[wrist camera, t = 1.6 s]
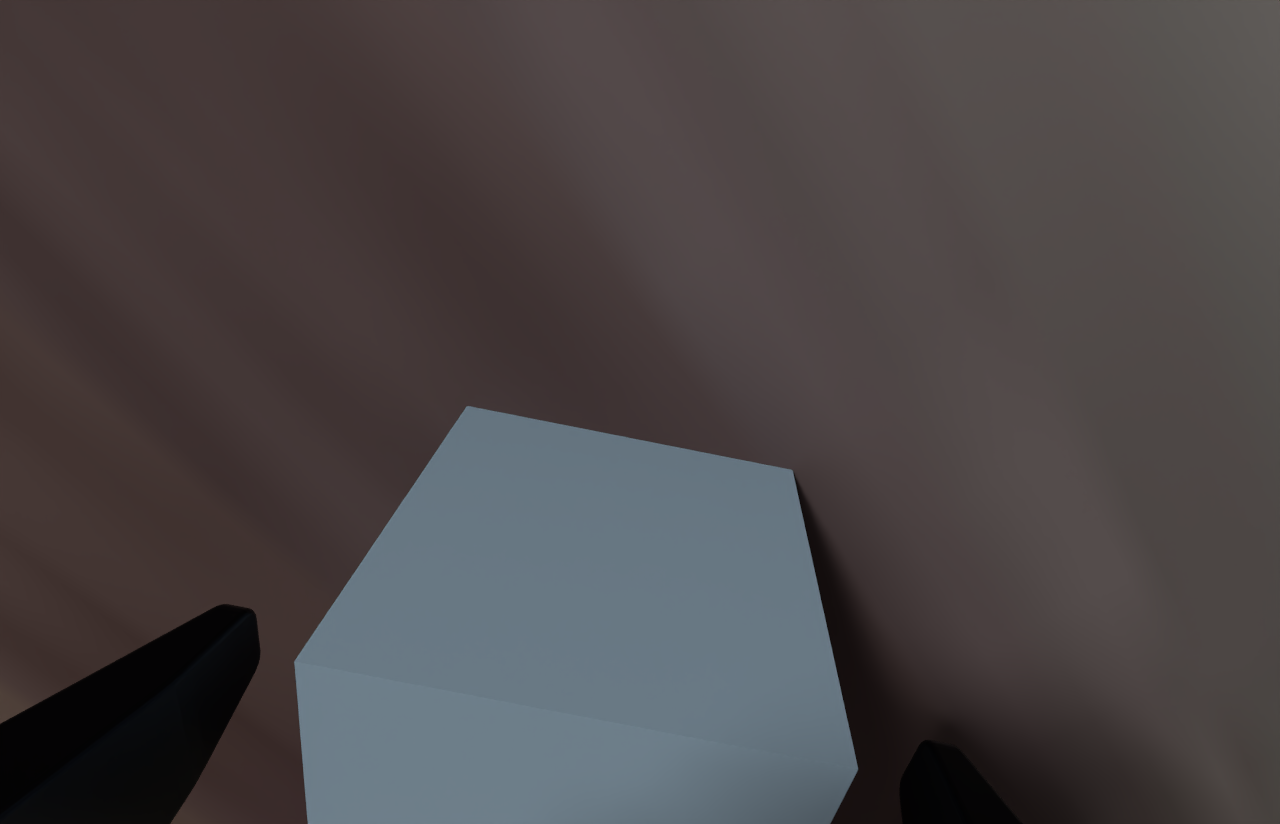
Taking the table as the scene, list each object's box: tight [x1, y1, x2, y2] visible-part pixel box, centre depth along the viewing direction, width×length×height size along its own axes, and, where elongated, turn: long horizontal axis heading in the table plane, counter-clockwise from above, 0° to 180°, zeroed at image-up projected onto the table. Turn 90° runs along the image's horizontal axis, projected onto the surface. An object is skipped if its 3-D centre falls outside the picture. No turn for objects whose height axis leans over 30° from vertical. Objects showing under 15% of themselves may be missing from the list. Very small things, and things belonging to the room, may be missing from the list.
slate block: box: [294, 406, 858, 824], centre depth 9 cm, size 5×5×5 cm
